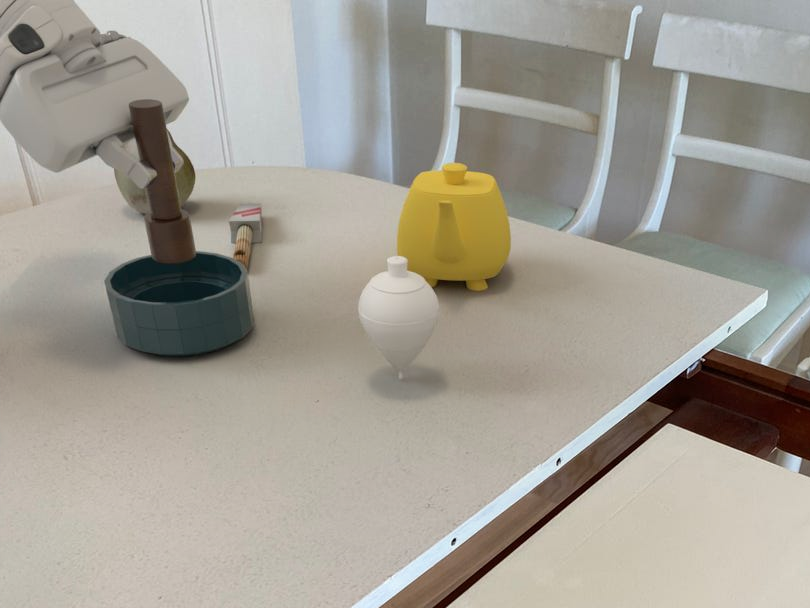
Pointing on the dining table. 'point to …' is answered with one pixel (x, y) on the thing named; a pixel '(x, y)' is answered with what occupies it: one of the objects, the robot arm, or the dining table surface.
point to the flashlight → (161, 187)
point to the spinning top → (398, 313)
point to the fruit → (137, 195)
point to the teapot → (454, 227)
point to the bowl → (180, 304)
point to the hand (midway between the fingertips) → (163, 176)
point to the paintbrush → (246, 230)
